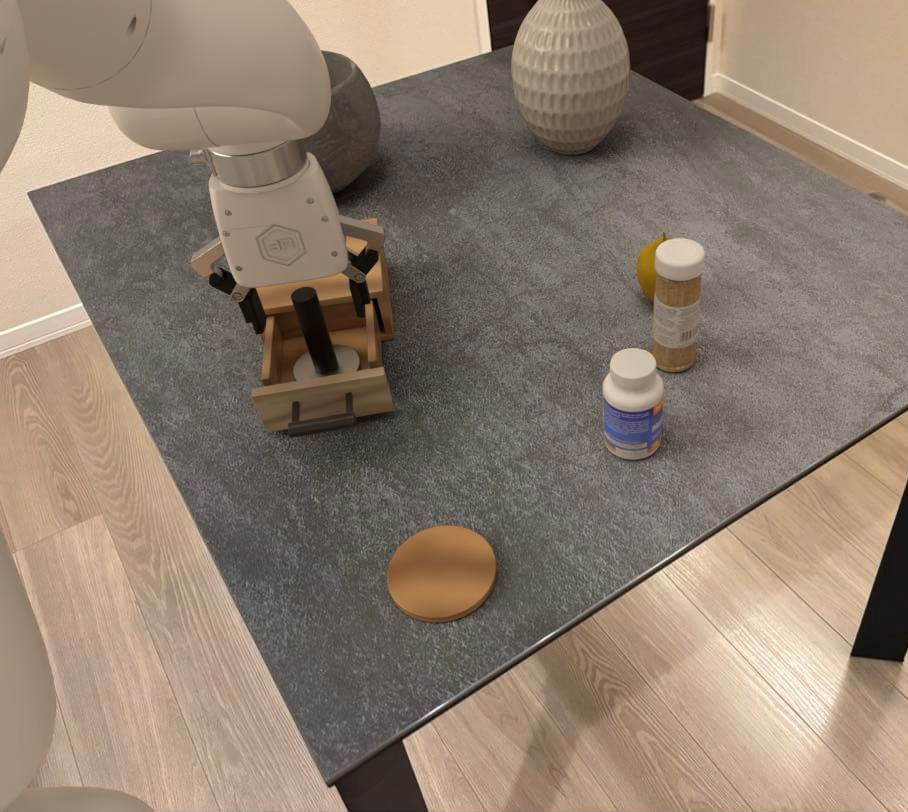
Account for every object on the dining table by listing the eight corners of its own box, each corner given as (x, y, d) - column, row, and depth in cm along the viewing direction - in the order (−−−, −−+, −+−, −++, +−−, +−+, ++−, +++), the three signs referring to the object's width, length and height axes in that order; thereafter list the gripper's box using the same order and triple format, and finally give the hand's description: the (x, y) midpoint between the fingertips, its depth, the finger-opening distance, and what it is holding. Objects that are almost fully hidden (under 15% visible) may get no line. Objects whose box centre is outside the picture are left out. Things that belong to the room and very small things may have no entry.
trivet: (504, 610, 65) (504, 605, 65) (391, 633, 65) (389, 627, 64) (489, 522, 72) (488, 516, 71) (385, 541, 71) (384, 535, 70)
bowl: (227, 169, 121) (191, 67, 110) (364, 132, 127) (341, 31, 116) (261, 237, 107) (223, 127, 96) (412, 192, 113) (392, 84, 102)
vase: (502, 165, 117) (485, -1, 101) (536, 114, 128) (526, -43, 112) (614, 176, 113) (615, 5, 97) (639, 122, 124) (643, -40, 108)
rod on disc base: (362, 386, 82) (340, 309, 76) (293, 397, 82) (264, 321, 75) (360, 343, 87) (339, 268, 80) (295, 354, 86) (268, 278, 80)
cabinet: (394, 339, 90) (383, 290, 86) (269, 359, 89) (250, 311, 85) (387, 264, 101) (377, 217, 96) (275, 282, 100) (258, 235, 95)
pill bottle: (663, 461, 76) (668, 383, 69) (604, 462, 76) (603, 385, 69) (658, 418, 79) (662, 341, 73) (601, 420, 80) (601, 343, 73)
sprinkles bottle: (681, 340, 87) (690, 231, 78) (703, 367, 84) (715, 256, 75) (642, 352, 86) (647, 243, 77) (662, 379, 83) (669, 269, 74)
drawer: (396, 441, 78) (386, 405, 75) (263, 464, 77) (247, 428, 74) (386, 326, 91) (378, 291, 87) (272, 344, 90) (259, 309, 86)
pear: (659, 276, 96) (662, 215, 90) (704, 298, 92) (710, 236, 87) (622, 301, 93) (623, 240, 87) (667, 325, 89) (671, 263, 84)
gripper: (144, 193, 64) (217, 357, 77) (365, 161, 66) (403, 327, 78) (157, 148, 70) (224, 308, 82) (362, 119, 71) (398, 280, 83)
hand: (311, 317), depth 80 cm, fingers open, 9 cm apart
